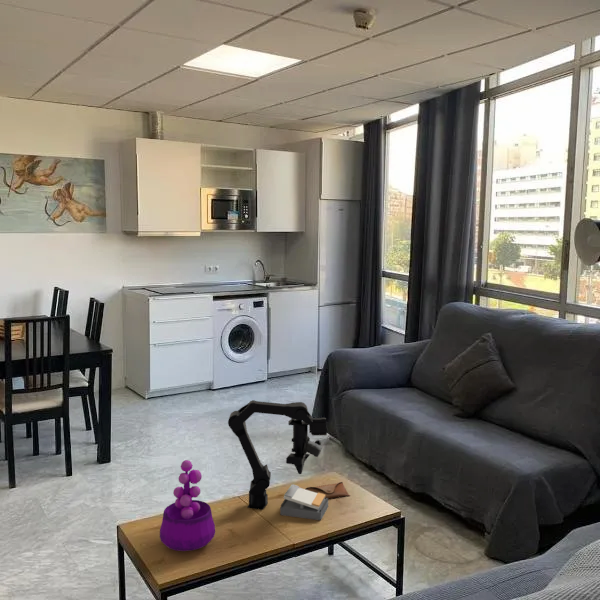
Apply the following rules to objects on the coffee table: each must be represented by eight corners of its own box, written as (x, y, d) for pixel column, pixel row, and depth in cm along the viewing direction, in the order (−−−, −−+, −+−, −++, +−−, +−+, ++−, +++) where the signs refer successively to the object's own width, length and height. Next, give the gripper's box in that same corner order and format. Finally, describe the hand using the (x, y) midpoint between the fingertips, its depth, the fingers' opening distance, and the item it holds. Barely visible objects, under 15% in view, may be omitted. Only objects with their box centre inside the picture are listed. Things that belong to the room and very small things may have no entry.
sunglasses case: (312, 503, 241) (308, 486, 244) (305, 505, 247) (302, 489, 250) (351, 495, 248) (348, 479, 251) (345, 498, 254) (341, 482, 257)
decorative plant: (191, 526, 222) (189, 447, 219) (226, 542, 210) (225, 459, 207) (148, 546, 208) (146, 461, 204) (184, 564, 196) (182, 475, 193)
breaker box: (280, 514, 231) (280, 503, 231) (289, 501, 243) (289, 490, 242) (321, 520, 227) (321, 508, 226) (328, 506, 238) (328, 495, 238)
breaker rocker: (283, 498, 231) (284, 494, 231) (291, 487, 241) (292, 483, 241) (318, 509, 227) (319, 505, 227) (324, 498, 238) (325, 494, 237)
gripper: (314, 445, 225) (314, 485, 227) (325, 429, 243) (325, 467, 245) (285, 442, 228) (285, 482, 230) (299, 427, 246) (299, 464, 248)
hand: (300, 473), depth 238 cm, fingers closed
